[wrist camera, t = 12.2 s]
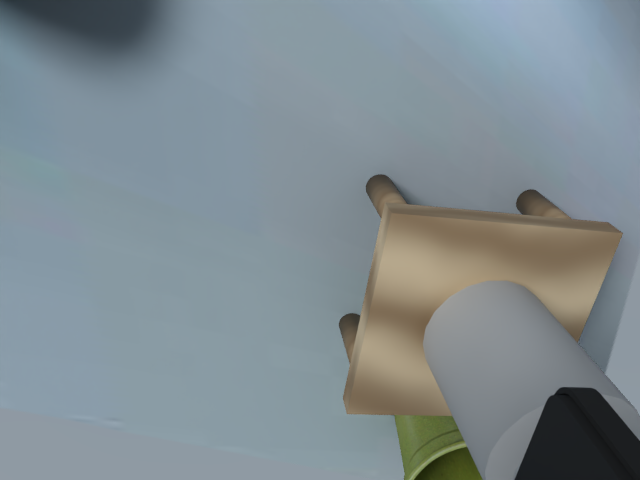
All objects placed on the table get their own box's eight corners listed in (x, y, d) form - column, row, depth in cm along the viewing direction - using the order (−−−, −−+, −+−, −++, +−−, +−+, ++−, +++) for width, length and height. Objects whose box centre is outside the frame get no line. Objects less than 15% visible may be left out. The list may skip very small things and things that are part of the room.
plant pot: (503, 374, 48) (555, 455, 40) (452, 455, 52) (490, 544, 44) (404, 348, 45) (440, 430, 38) (357, 436, 49) (380, 527, 41)
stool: (361, 163, 38) (391, 212, 31) (554, 183, 41) (622, 233, 34) (328, 339, 44) (346, 414, 37) (498, 346, 47) (546, 417, 40)
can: (556, 281, 34) (702, 429, 24) (511, 380, 38) (622, 551, 27) (441, 263, 33) (542, 415, 22) (403, 369, 36) (475, 546, 25)
